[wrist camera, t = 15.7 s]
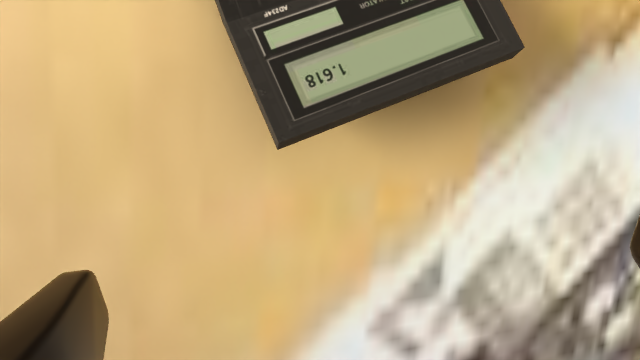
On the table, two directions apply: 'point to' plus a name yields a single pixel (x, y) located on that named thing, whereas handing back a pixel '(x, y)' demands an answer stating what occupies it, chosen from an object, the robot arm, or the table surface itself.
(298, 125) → the calculator
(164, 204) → the table surface
